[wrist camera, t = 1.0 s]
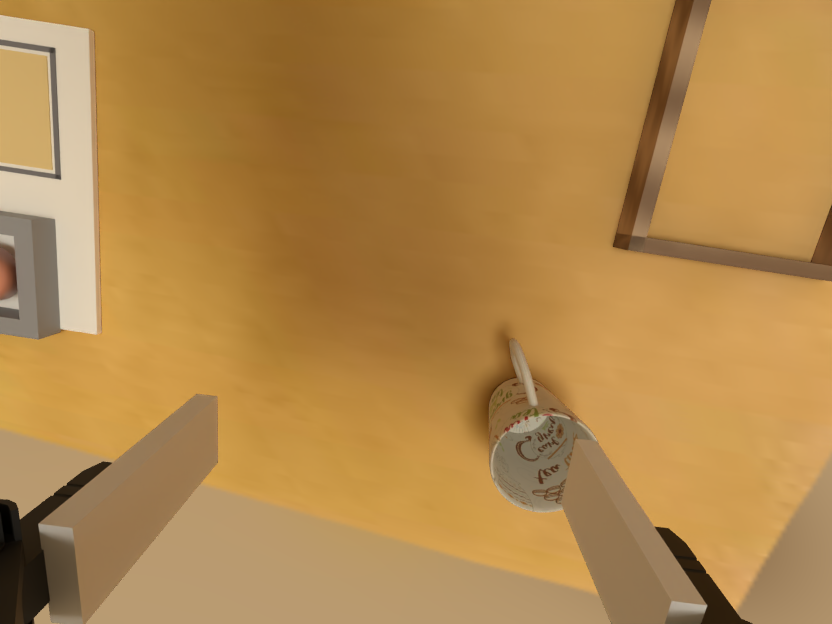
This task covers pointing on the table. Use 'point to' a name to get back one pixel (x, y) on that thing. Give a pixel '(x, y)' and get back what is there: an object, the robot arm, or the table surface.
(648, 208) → the book tray
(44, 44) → the white base plate
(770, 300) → the table surface
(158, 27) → the table surface
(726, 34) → the table surface
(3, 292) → the button
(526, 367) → the mug
